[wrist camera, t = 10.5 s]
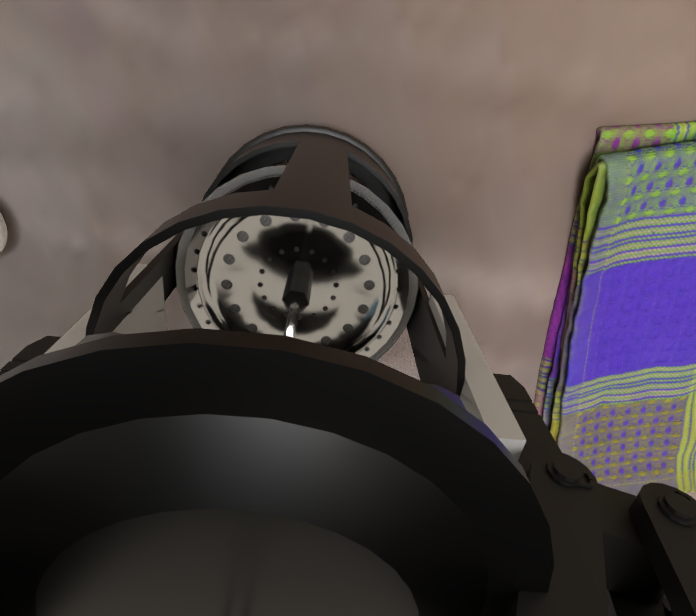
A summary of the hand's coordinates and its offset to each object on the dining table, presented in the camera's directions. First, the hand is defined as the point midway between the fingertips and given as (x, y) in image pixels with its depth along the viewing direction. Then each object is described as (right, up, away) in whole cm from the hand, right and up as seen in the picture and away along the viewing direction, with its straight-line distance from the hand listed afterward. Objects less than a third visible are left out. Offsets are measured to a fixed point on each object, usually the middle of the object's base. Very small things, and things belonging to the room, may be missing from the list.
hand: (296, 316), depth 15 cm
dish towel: (+22, -1, +12) cm, 25 cm away
